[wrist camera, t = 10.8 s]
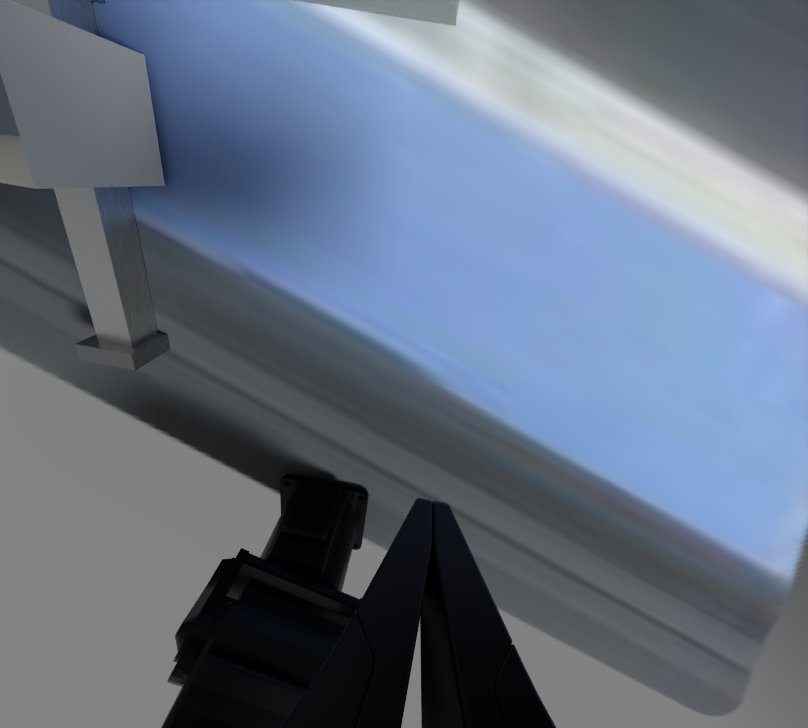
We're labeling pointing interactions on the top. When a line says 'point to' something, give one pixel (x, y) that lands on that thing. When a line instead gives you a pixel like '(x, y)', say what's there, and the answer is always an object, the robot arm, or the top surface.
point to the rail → (106, 249)
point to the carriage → (72, 107)
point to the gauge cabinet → (402, 8)
